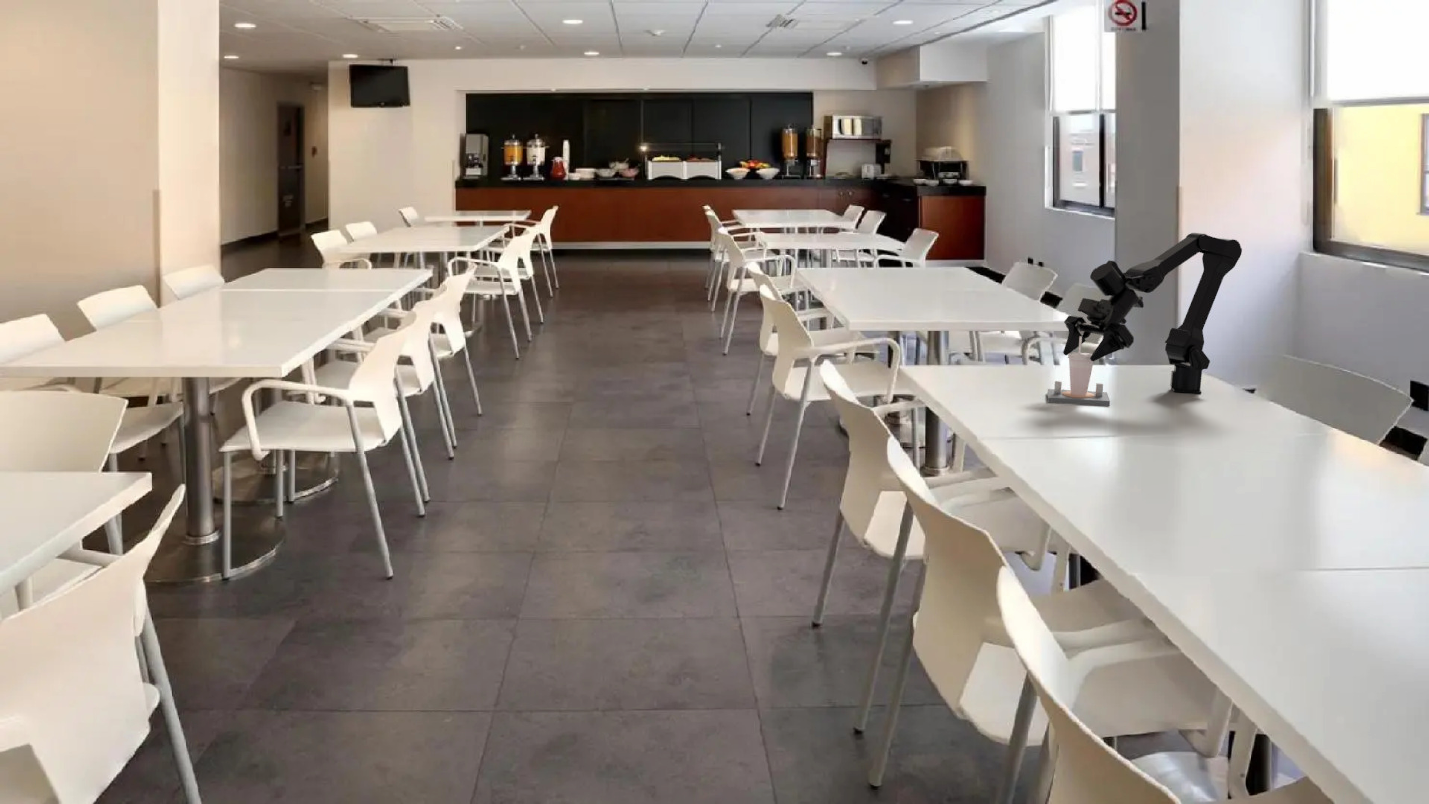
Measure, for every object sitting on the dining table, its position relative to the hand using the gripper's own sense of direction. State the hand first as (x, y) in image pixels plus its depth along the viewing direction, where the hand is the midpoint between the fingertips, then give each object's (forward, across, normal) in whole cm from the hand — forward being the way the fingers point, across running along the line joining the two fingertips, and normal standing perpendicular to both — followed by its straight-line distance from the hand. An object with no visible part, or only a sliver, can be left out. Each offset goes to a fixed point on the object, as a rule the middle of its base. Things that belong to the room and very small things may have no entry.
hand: (1077, 357), depth 292 cm
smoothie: (+6, 0, +7) cm, 9 cm away
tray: (+7, 0, +8) cm, 11 cm away
